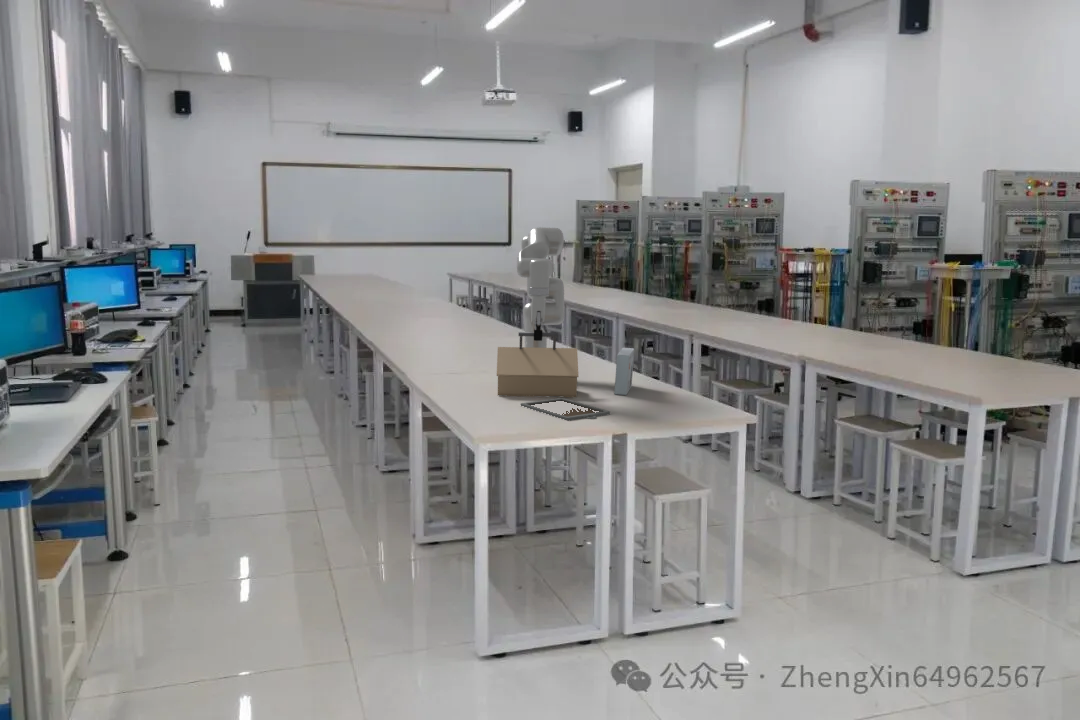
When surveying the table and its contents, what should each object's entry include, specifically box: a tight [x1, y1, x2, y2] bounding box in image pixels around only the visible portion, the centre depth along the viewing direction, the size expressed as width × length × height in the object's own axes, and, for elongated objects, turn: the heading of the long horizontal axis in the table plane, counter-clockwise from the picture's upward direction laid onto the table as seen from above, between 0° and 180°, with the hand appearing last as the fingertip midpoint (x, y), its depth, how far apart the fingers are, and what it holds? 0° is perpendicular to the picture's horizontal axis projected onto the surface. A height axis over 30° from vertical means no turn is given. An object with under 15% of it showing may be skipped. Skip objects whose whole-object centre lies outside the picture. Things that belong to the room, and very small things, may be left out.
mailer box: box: [497, 376, 578, 398], centre depth 332 cm, size 14×30×8 cm, turn 91°
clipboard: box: [520, 397, 611, 422], centre depth 302 cm, size 19×2×30 cm
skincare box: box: [613, 347, 635, 396], centre depth 341 cm, size 21×6×16 cm, turn 168°
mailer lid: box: [496, 331, 579, 378], centre depth 327 cm, size 15×31×9 cm
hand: (537, 339), depth 329 cm, fingers closed on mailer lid
